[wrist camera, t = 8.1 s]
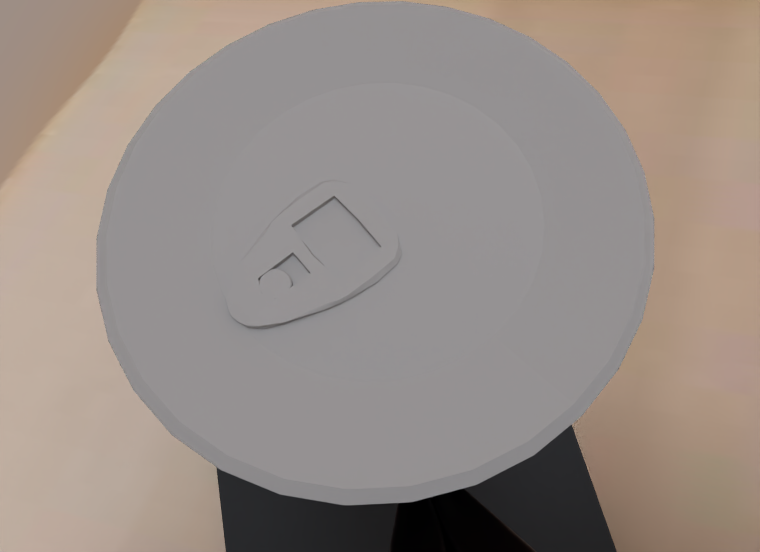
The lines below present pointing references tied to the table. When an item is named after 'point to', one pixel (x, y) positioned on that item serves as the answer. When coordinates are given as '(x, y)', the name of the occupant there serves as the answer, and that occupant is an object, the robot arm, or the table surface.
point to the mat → (376, 521)
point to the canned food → (375, 253)
